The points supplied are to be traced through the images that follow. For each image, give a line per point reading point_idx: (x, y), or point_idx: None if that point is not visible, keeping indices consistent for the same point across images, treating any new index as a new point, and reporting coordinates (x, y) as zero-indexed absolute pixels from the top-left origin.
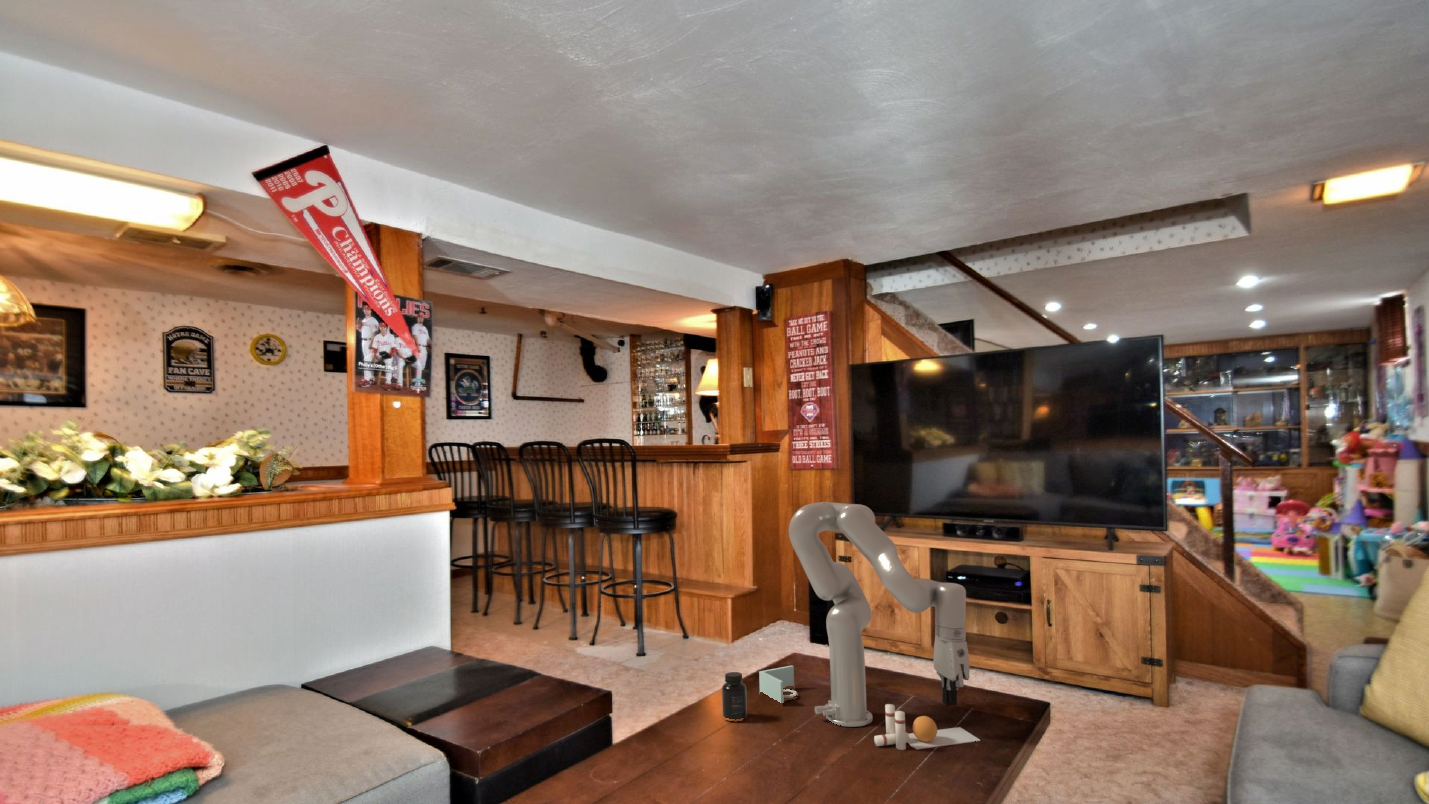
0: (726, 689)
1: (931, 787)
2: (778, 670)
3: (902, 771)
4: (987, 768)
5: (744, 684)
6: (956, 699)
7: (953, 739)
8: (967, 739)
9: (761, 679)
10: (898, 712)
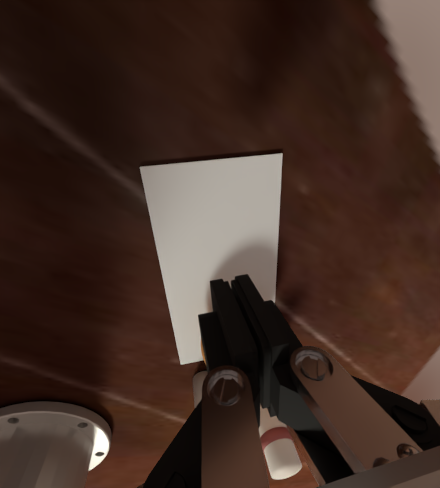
0: None
1: (416, 355)
2: None
3: None
4: (430, 233)
5: None
6: (257, 291)
7: (248, 243)
8: (262, 198)
9: None
10: (284, 472)
